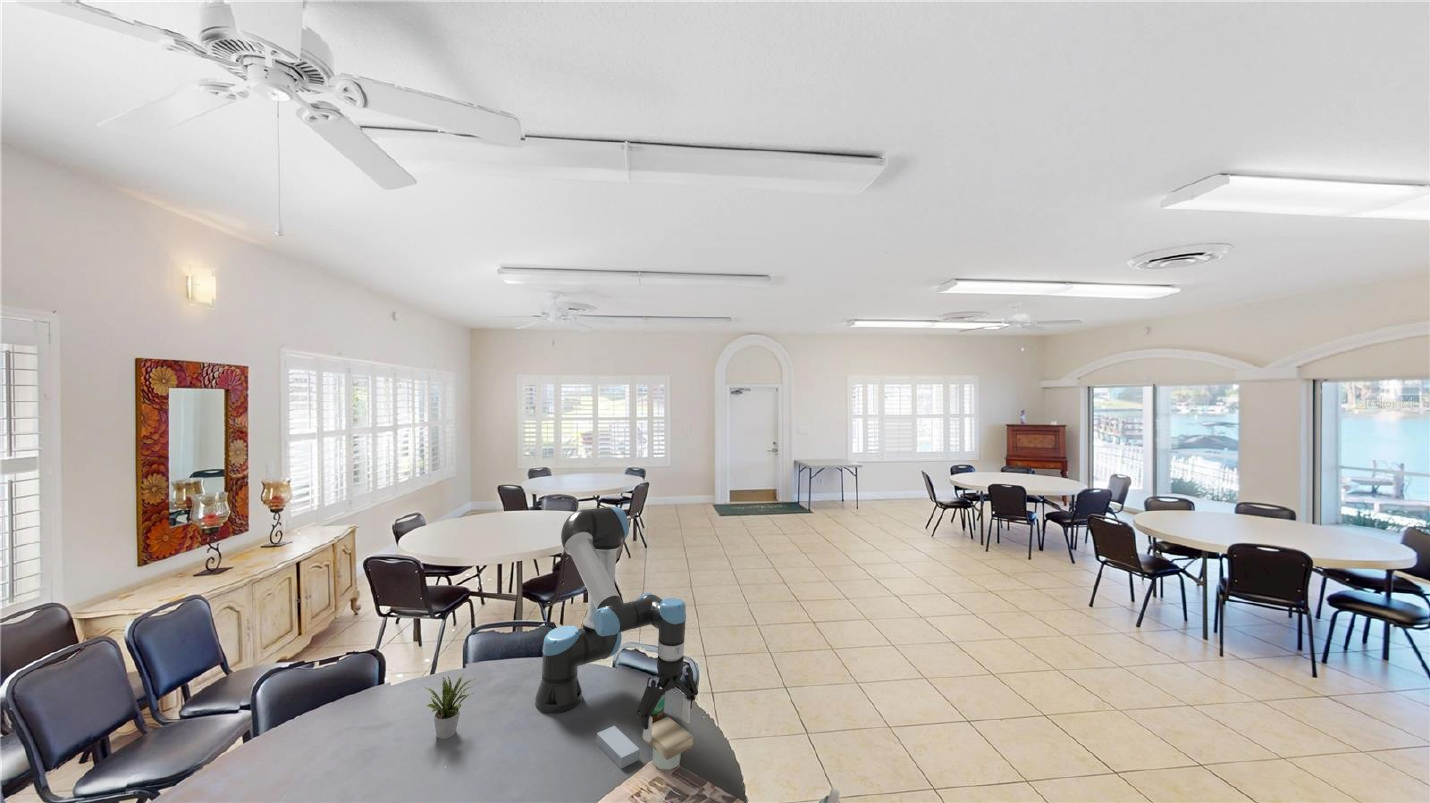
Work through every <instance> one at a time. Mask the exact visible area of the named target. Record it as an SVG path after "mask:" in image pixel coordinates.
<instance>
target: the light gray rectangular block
mask: <svg viewBox="0 0 1430 803" xmlns="http://www.w3.org/2000/svg"><path fill="white" fill-rule="evenodd" d="M596 745H597V746H598V747H599V748H600V749H601V750H602V751H603V752H604V753H605V754H606V755H607V756H608V757H609V758H610V759H611V761H613V762H614V763H615V764H616V765H617V766H618V768H620V770H622V769H623V768H626V767H627V766H630V765H632V764H634V763H636V762H638V761H640V750H641V749H640V748H639V747H638V746H637V745H636V744H635V743H634V742H632V741H631V740H630V739H629V737H627V736H626V734H624V733H623V732H622V731H621V730H620V729H619V728H618V727H617V726H616V725H613V726H611V727H608V728H606V729H603V730H601V731H599V732H597V733H596Z"/></svg>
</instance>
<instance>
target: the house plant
mask: <svg viewBox="0 0 1430 803" xmlns="http://www.w3.org/2000/svg"><path fill="white" fill-rule="evenodd" d="M464 675H465V673H462V674H461V675H460V677H459V678H458V679H457V682H456V684H455V685H454V687H453V686H452V684H453V683H454V681H451V679H450V676H447V679H446V678H445V677H444V676H443V677H442V691H441V692H442V693H441V694H442V698H441V699H442V700H441V699H440V697H439V695H438V694H437V693H436V692H435V691H434V690H433V689H431V688H428V687H425V690H427V691H429V692H430V693H431V694H432V696H430V699H431V702H432V703H429V704H426V706H427V707H428V708H431V709H432V711H431V712H430V713H431V714H432V713H433V712H435V713H434V714H433V718H434V720H433V721H434V728H435V734H436V738H437V739H440V740H443V739H449V738H452V737H453V736H454V735H456V732H457V727H458V723H459V718H460V714H461V707H462V702H463V701H465V699H466V698H467V697H470V695H473V694H474V693H468V694H464V693H466V692H465V691H466V690H468V689H470V688H471V689H472V686H469V687H466V688H465V689H463V688H464V687H465V686H466V685H467V684H469V683H470V682H473V681H474V680H475V681H476V678H473V679H469V680H468V681H465V682H464V683H463V684H462V685H461V686H460V684H461V682H462V680H463V676H464ZM447 680H448V682H447ZM459 686H460V687H459ZM462 689H463V690H462ZM459 693H460V694H459ZM458 695H459V696H458ZM457 696H458V697H457ZM434 698H435V699H434ZM460 699H461V700H460ZM436 700H437V701H436ZM459 700H460V701H459ZM457 702H458V704H456V703H457Z"/></svg>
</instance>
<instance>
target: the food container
mask: <svg viewBox="0 0 1430 803" xmlns="http://www.w3.org/2000/svg"><path fill="white" fill-rule="evenodd" d="M654 678H657V675H654ZM659 689H660V690H662V688H661V687H660V688H659ZM668 693H669V691H666V692H665V694H664V695H662V696H661V698H660V700H659V702H658V703H657V705H656V707H655V709H654V710H653V712H652V714H651V717H652V724H653V723H655V722H657V721H659V720H661V719H664V718H663V717H664V714H665V713H664V711H665V702H666V696H667V694H668ZM647 712H648V711H647Z"/></svg>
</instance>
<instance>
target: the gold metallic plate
mask: <svg viewBox="0 0 1430 803" xmlns="http://www.w3.org/2000/svg"><path fill="white" fill-rule="evenodd" d="M642 739H643V740H644V741H645V742H646V743H647V744H648V745H649V746H651V747H652V749H653V748H654V749H655V750H656V751H657V752H658V753H659V754H661V755H662V756H663V757H664V758H665V759H666V760H669V759H671V758H672V757H674V756H676V755H678V754H680V753H681V754H682V753H684V752H686V751H689V750H690V749H691V748H693V747H694V735H692V733H690V732H688V731H687V730H686V729H685V728H683V727H682V726H681V725H680V724H678V723H677V722H676V721H674V720H673V719H672V718H671V717H669V716H666V717H664V718H662V719H661V720H659V721H657V722H655V723H653V724H652V736H651V741H650V742H648V741H647V740H646V739H645V738H644V728H643V727H642Z"/></svg>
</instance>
